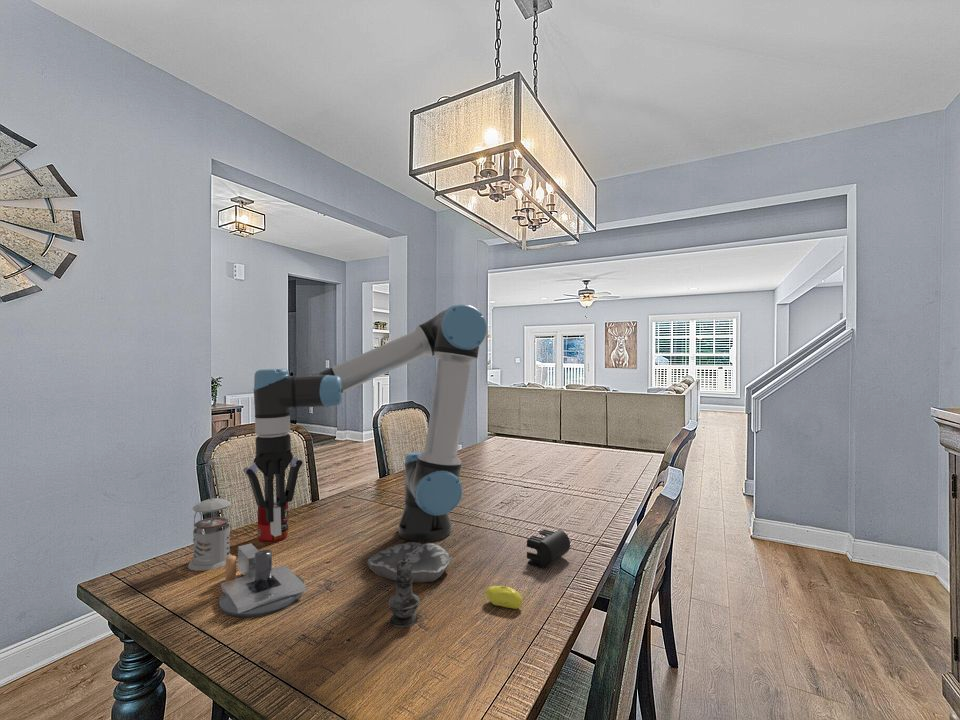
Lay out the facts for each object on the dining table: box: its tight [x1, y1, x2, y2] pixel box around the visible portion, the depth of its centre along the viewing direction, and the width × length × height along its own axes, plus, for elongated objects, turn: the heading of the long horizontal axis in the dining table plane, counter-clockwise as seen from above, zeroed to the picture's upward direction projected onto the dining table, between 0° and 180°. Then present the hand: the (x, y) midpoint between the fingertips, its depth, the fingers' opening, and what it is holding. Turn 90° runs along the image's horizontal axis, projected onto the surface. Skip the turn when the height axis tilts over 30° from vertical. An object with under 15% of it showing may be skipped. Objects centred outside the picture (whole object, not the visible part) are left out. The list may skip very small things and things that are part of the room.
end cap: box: [526, 529, 571, 570], centre depth 112 cm, size 10×7×7 cm
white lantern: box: [187, 459, 234, 572], centre depth 111 cm, size 10×12×25 cm
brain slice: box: [367, 541, 453, 583], centre depth 108 cm, size 20×17×3 cm
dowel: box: [225, 555, 237, 582], centre depth 101 cm, size 2×2×6 cm
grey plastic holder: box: [220, 542, 307, 613], centre depth 98 cm, size 20×13×5 cm, turn 42°
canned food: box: [257, 494, 290, 544], centre depth 126 cm, size 8×8×11 cm
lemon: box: [484, 585, 524, 610], centre depth 92 cm, size 4×8×4 cm, turn 61°
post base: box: [218, 549, 305, 618], centre depth 95 cm, size 16×16×9 cm
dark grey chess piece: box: [388, 557, 421, 628], centre depth 87 cm, size 6×6×12 cm
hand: (276, 534), depth 106 cm, fingers closed
